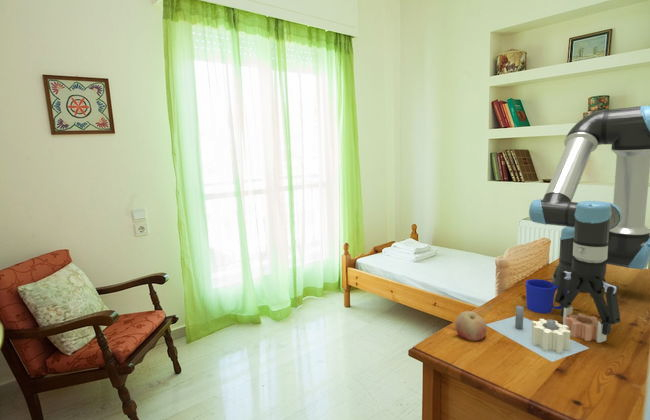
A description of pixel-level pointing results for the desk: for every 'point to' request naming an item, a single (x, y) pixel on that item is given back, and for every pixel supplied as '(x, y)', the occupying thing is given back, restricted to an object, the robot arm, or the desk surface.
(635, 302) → the desk surface
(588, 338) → the loose gear
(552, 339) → the gear
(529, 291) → the mug
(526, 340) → the gear board
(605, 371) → the desk surface
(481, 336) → the fruit
